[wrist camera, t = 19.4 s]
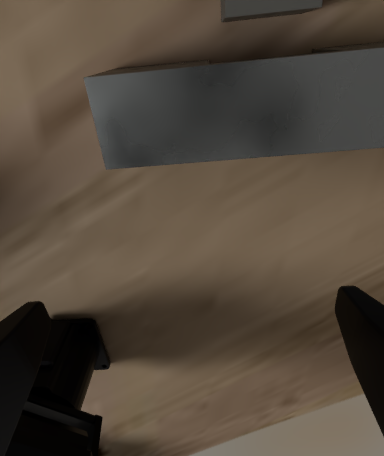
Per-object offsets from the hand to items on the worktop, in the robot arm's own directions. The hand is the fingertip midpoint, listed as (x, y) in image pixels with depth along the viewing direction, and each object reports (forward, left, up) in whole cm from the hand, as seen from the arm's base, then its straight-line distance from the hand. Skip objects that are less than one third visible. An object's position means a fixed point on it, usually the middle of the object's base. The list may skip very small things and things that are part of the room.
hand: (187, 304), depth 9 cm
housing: (+4, -4, -12) cm, 13 cm away
